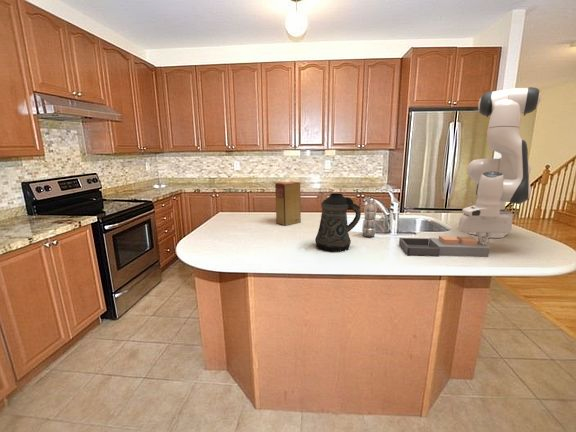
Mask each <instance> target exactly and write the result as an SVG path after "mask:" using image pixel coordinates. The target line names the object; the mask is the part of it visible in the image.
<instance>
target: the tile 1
mask: <svg viewBox="0 0 576 432" xmlns="http://www.w3.org/2000/svg"><path fill="white" fill-rule="evenodd" d="M438 238H439V241H440V242H441V243H443V244H444V245H459V240H458V239H457V238H456V236H454V235H438Z"/></svg>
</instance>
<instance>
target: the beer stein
mask: <svg viewBox="0 0 576 432" xmlns="http://www.w3.org/2000/svg"><path fill="white" fill-rule="evenodd" d="M320 204H321V208H322V210H321V216H320V221H319V227H318V231H317V232H316V233H317V234H316V237H315V247H316V249H318V250H319V251H323V252H327V253H328V252H329V253H342V251H343V252H346V251H348V250H349V249H350V246H351V242H352V240H351V237H350V235H349V233H350V232H351V231H352V230H353V229H354V228H355V227H356V225H357V224H358V223H359V222H360V219H361V215H362V213H361V207H360V206H359V205H357V204H356V203H354V200H353V199H352V198H351V197H349V196H348V197H347V196H344V195H343V194H342V193H336V192H335V193H334V192H333V193H330V195H329V196H328V197H327V198H325V199H324V200H323V201H322V202H321V203H320ZM347 211H354V212H355V216H354V219H352V221H351V222H350V223H349V224H348V217H347V215H348V214H347ZM345 250H346V251H345Z"/></svg>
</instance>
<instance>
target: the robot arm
mask: <svg viewBox="0 0 576 432" xmlns="http://www.w3.org/2000/svg"><path fill="white" fill-rule="evenodd" d="M541 97H542V96H541V92H540V89H539V88H538V87H533V86H532V87H510V88H506V89H499V90H494V91H493V90H491V91H490V90H489V91H487V92H484V93H483V94H482V95H481V96H480V98H479V100H478V103H477V109H478V111H479V114H480V115H482V116H483V117H484V116H485V117H487V118H489V121H488V126H487V133H486V142H487V146H488V149H490V150H492V151H493V152H496V153H499V154H500V155H501V157H500V158H478V159H473V160H472V161H470V162H469V164H468V165H467V168H466V173H467V175H468V177H469V178H470V179H471V180H473V181H474V182H475V183H476V190H475V195H476V196H477V199H476V201H475V204H473V205H471V206H467V207H464V208H462V210H461V212H462V214H461V215H460V217H459V220H458V224H457V225H458V227H457V228H458V229H459V231H461V232H463V233H467V234H468V235H472V236H477V237H478V239H477V240H478V241H479V242H481V243H488V239H489V238H491V239H492V238H493V239H494V238H495V239H499V238H501V239H502V238H504V237H505V236H508V233H510V232H512V230H513V217H514V214H513V212H511V211H510V210H506V203H511V204H516V205H517V204H518V205H520V204H523V203H525V202H527V201H528V200H529V199H530V197H531V194H532V188H531V183H530V182H531V181H530V173H531V165H530V163H529V151H528V149H529V148H528V144H527V142H526V140H524V139H522V137H521V135H520V128H521V127H520V126H521V118H522V117H521V116H522V115H521V114H523V117H525V116H526V115H527V114H530V113H532V112H534V111H535V110H537V107H538V106H539V104H540V103H541V100H542V99H541ZM489 116H490V117H489Z"/></svg>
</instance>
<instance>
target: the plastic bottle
mask: <svg viewBox="0 0 576 432" xmlns="http://www.w3.org/2000/svg"><path fill="white" fill-rule="evenodd" d="M366 202H367V203H365V206H364V208H363V214H364V224H363V229H362V235H363V236H364V237H375V235H376V234H377V233H376V231H377V230H376V229H377V228H376V216H377V211H378V207H377V206H376V203H375V202H376V200H375V198H374V197H367V199H366Z"/></svg>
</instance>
